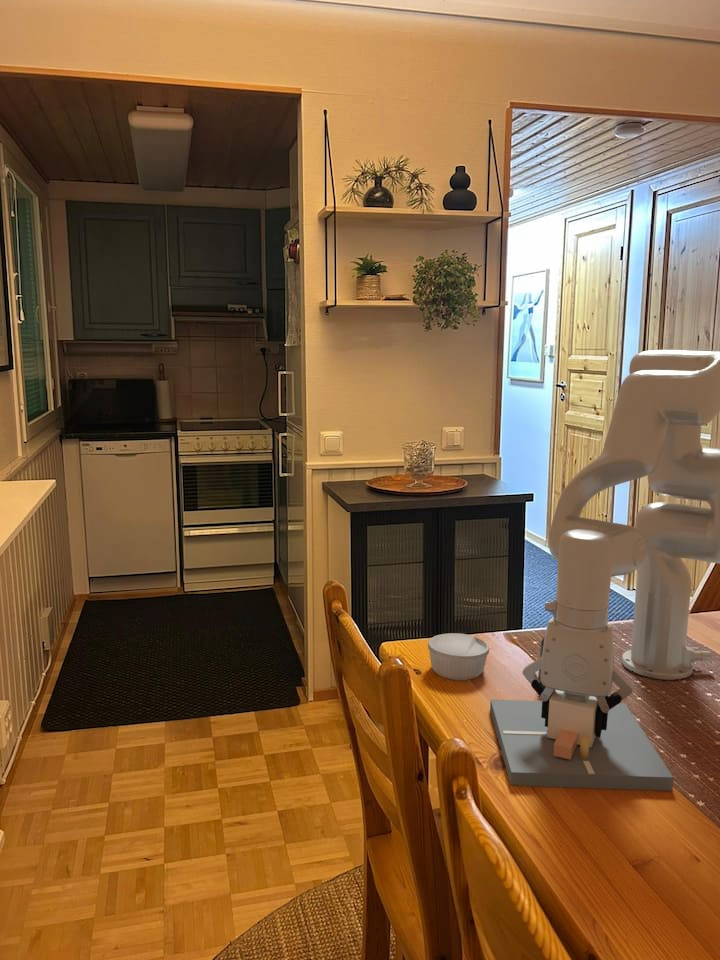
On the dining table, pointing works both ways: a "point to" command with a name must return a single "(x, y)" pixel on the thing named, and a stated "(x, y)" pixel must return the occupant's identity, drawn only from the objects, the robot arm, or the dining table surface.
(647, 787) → the board
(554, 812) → the dining table surface
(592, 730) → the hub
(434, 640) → the ramekin
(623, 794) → the dining table surface
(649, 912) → the dining table surface
